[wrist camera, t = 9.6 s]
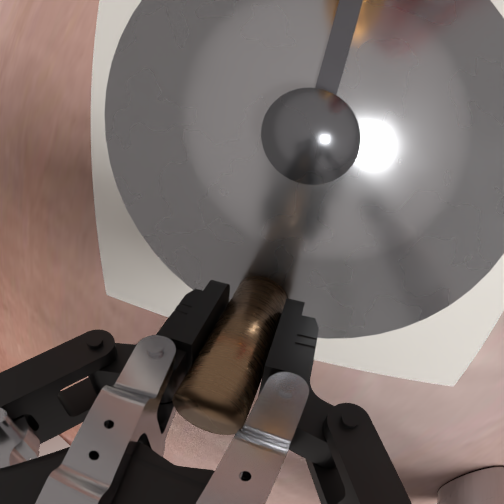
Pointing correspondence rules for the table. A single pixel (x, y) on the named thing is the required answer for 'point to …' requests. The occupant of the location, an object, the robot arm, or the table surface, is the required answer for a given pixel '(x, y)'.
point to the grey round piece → (309, 166)
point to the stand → (174, 289)
